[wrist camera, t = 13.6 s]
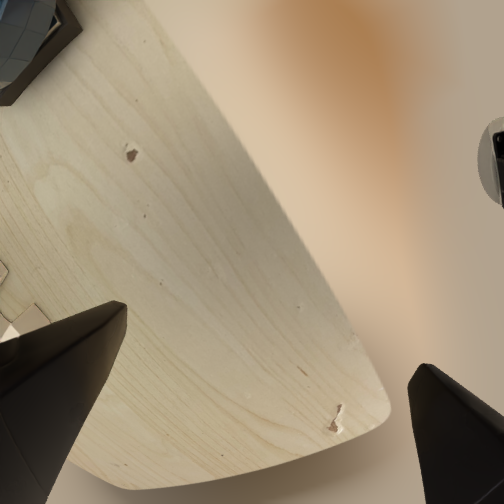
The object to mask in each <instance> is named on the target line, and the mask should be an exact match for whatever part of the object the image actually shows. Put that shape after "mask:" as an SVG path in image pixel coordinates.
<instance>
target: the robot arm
mask: <svg viewBox="0 0 504 504" xmlns="http://www.w3.org/2000/svg"><path fill="white" fill-rule="evenodd" d="M497 138H499V140H497ZM492 140H493V145H494V150H495V156H496V162H497V168H498V175H499V182H500V191H501V200H502V207H503V208H504V131H500V132H496V133H494V134H493V137H492ZM126 329H127V305H126V304H125V303H121V302H118V301H114V300H113V301H110V302H107V303H105V304H102V305H99V306H97V307H94V308H91V309H89V310H86V311H83V312H81V313H78V314H75V315H73V316H70V317H68V318H65V319H62V320H60V321H57V322H54V323H52V324H49V325H46V326H44V327H41V328H38V329H36V330H33V331H31V332H28V333H25V334H23V335H20V336H19V337H15V338H12V339H9V340H7V341H4V342H1V343H0V504H45V503H46V501H47V498H48V497H47V496H49V494H50V492H51V490H52V487H53V485H54V483H55V481H56V479H57V477H58V474H59V472H60V470H61V468H62V466H63V464H64V462H65V460H66V458H67V456H68V454H69V452H70V450H71V448H72V446H73V444H74V442H75V440H76V438H77V436H78V434H79V432H80V430H81V428H82V426H83V424H84V422H85V420H86V418H87V416H88V414H89V412H90V410H91V409H92V407H93V405H94V403H95V401H96V399H97V397H98V395H99V394H100V392H101V390H102V388H103V386H104V384H105V382H106V380H107V378H108V376H109V374H110V371H111V369H112V366H113V364H114V361H115V359H116V356H117V354H118V351H119V349H120V347H121V344H122V342H123V339H124V337H125V334H126ZM408 396H409V403H410V412H411V420H412V428H413V433H414V438H415V443H416V448H417V453H418V458H419V463H420V469H421V475H422V481H423V487H424V494H425V500H426V504H504V416H502V415H501V414H500V413H498V412H497V411H496V410H494V409H492V408H491V407H490V406H489V405H487V404H486V403H485V402H483V401H482V400H480V399H479V398H478V397H477V396H475V395H474V394H472V393H471V392H470V391H468V390H467V389H466V388H464V387H463V386H462V385H460V384H459V383H457V382H456V381H455V380H453V379H452V378H451V377H449V376H448V375H447V374H445V373H444V372H442V371H441V370H440V369H438V368H437V367H436V366H434V365H432V364H425V363H423V364H421V365H420V366H419V367H418V368H417V370H416V371H415V373H414V375H413V376H412V378H411V379H410V381H409V383H408Z"/></svg>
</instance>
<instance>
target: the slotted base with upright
mask: <svg viewBox="0 0 504 504" xmlns="http://www.w3.org/2000/svg"><path fill="white" fill-rule="evenodd" d="M7 273H8V270H7V269H6V267H5V266H4V265H3V263H2V262H1V261H0V285H1V283H2V282H3V280H4V278H5V276H6V275H7ZM49 324H51V323H50V321H49V320H48V319H47V318H46V316H45V315H44V314H43V313H42V312H41V311H40V310H39V308H38V307H37V306H36V305H35V304H34V303H33V304H32V305H31V306H30V307H28V308H27V309H26V310H25V311H24V312H23V313H22V314H21V315H20V316H19V317H18V318H17V319H16V320H14V321H13V322H12V323H11V322H9V321H7V320H6V319H5V318H4V317H3V316H2V315H1V313H0V343H1V342H4V341H7V340H9V339H12V338H15V337H19V336H20V335H23V334H25V333H28V332H31V331H33V330H36V329H38V328H41V327H44V326H46V325H49Z"/></svg>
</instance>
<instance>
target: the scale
mask: <svg viewBox="0 0 504 504" xmlns="http://www.w3.org/2000/svg"><path fill="white" fill-rule="evenodd" d="M82 30H83V29H82V28H81V26H80V24H79V23H78V21H77V20H76V18H75V16H74V15H73V13H72V11H71V10H70V8H69V6H68V5H67V3H66V2H65V0H56V9H55V12H54V15H53V18H52V21H51V24H50V27H49V30H48V33H47V35H46V37H45V39H44V41H43V42H42V44H41V46H40V48H39V49H38V51H37V53H36V55H35V56H34V58H33V60H32V61H31V63H30V64H29V65H28V66H27V67H26V68H25V69H24V70H23V72H22V73H21V74H20V75H19V76H18V77H17V78H16V80H15V81H14V82H12V83H11V84H9V85H7V86H6V87H4V88H2V89H1V90H0V106H11V105H12V104H13V102H14V101H15V100H16V99H17V98H18V96H19V95H20V94H21V93H22V92H23V90H24V89H25V88H26V87H27V86H28V85H29V83H30V82H31V81H32V80H33V79H34V78H35V77H36V76H37V75H38V74H39V72H40V71H41V70H42V69H43V68H44V67H45V66H46V65H47V64H48V63H49V62H50V61H51V60H52V59H53V58H54V57H55V56H56V55H57V54H58V53H59V52H60V51H61V50H62V49H63V48H64V47H65V46H66V45H67V44H68V43H69V42H70V41H72V40H73V39H74V38H75V37H76V36H77V35H78V34H79V33H80V32H82Z"/></svg>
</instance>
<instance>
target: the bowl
mask: <svg viewBox="0 0 504 504" xmlns="http://www.w3.org/2000/svg"><path fill="white" fill-rule="evenodd" d="M55 9H56V0H0V90H1V89H2V88H4V87H6V86H7V85H9V84H11V83H12V82H14V81H15V80H16V78H17V77H18V76H19V75H20V74H21V73H22V72H23V70H24V69H25V68H26V67H27V66H28V65H29V64H30V63H31V61H32V60H33V58H34V56H35V55H36V53H37V51H38V49H39V48H40V46H41V44H42V42H43V41H44V39H45V37H46V35H47V33H48V30H49V27H50V24H51V21H52V18H53V15H54V12H55Z"/></svg>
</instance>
